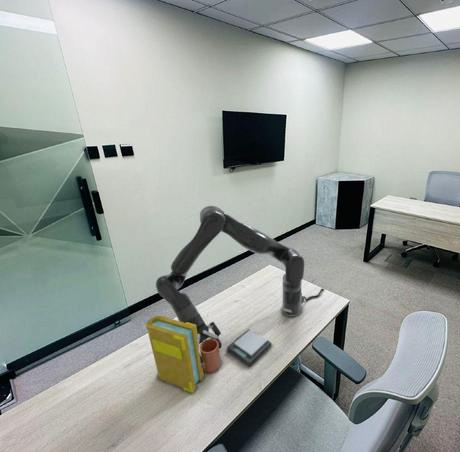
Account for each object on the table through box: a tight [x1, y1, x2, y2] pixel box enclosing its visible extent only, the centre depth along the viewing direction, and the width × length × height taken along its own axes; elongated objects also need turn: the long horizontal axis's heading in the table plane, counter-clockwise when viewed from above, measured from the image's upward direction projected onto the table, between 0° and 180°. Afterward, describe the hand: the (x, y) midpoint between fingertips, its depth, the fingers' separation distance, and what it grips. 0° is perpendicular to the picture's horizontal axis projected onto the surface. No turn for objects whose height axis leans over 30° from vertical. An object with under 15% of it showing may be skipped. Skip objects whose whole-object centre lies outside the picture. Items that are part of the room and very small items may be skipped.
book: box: [145, 315, 205, 394], centre depth 95 cm, size 17×7×25 cm, turn 71°
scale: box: [226, 328, 272, 367], centre depth 112 cm, size 13×13×3 cm
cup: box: [199, 338, 222, 373], centre depth 103 cm, size 7×7×10 cm
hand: (211, 355), depth 102 cm, fingers open, 8 cm apart
